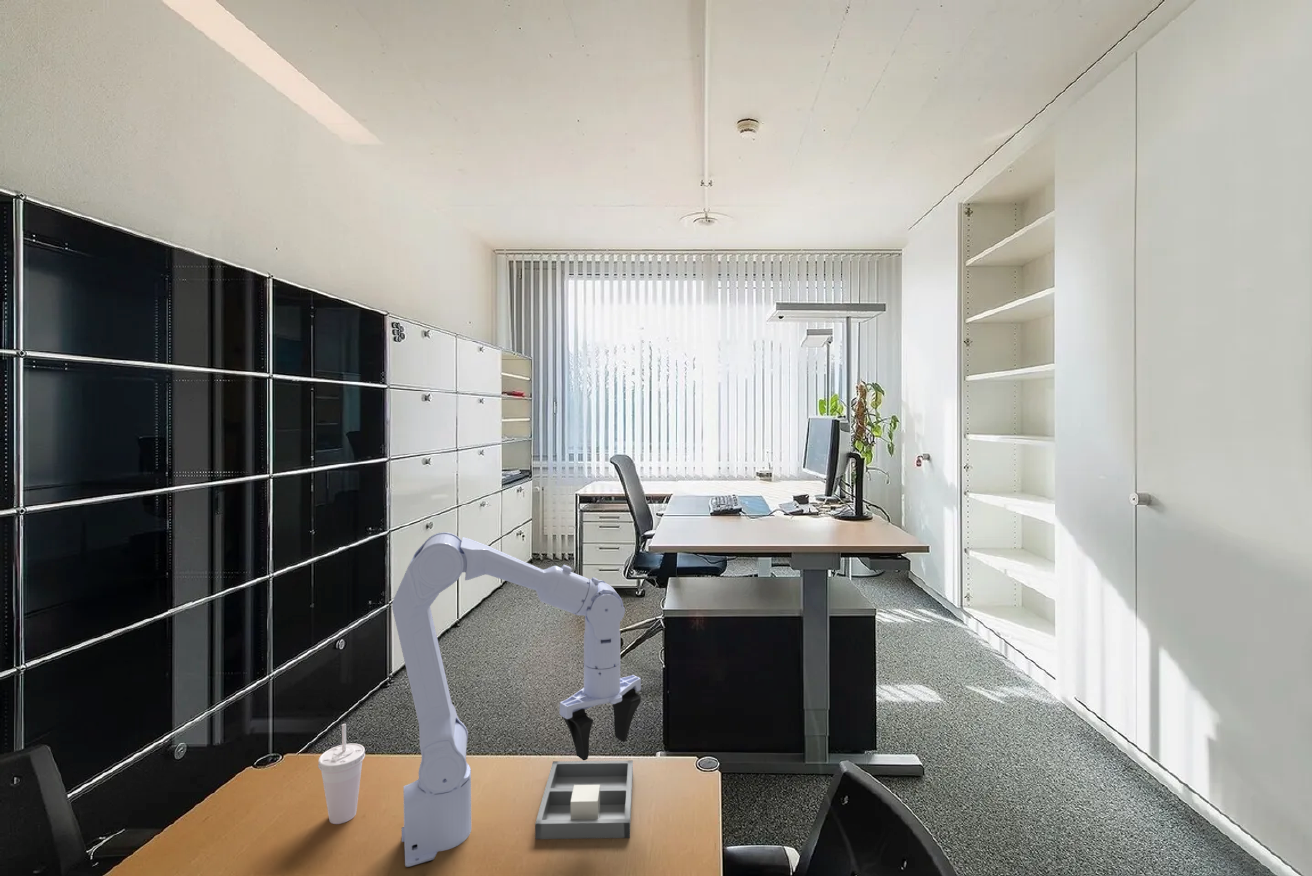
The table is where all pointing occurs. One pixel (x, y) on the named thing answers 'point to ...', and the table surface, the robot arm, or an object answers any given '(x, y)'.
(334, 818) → the smoothie
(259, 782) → the table surface
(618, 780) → the divided tray
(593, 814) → the white block
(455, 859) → the table surface
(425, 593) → the robot arm
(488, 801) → the table surface
